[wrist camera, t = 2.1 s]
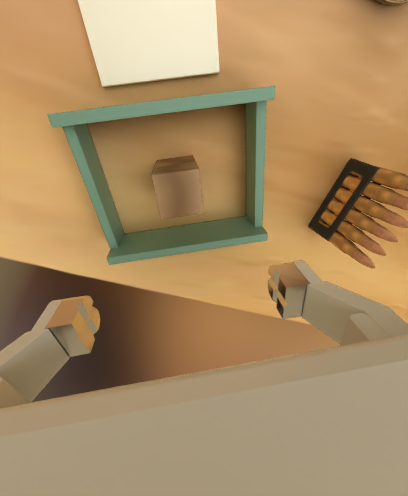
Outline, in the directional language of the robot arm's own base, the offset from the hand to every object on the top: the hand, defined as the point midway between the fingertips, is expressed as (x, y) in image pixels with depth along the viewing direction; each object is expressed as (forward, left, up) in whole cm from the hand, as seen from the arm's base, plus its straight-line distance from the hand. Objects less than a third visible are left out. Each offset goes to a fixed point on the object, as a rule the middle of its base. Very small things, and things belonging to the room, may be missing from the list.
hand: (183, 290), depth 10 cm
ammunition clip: (-22, +6, -22) cm, 32 cm away
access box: (0, 0, -22) cm, 22 cm away
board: (0, -16, -22) cm, 27 cm away
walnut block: (0, 0, -22) cm, 22 cm away
